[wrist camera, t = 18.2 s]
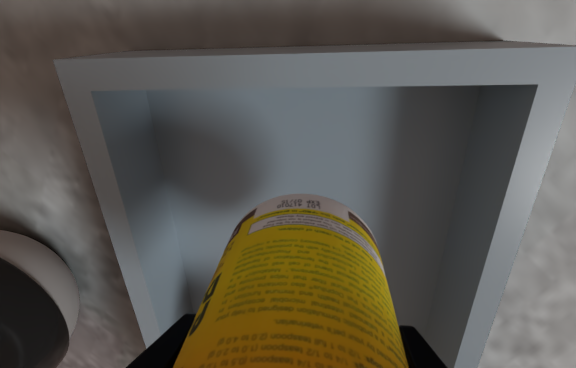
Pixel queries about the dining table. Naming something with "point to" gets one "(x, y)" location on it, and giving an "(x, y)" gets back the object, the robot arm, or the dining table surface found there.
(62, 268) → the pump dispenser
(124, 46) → the dining table surface
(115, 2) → the dining table surface
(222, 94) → the tray
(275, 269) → the supplement bottle
